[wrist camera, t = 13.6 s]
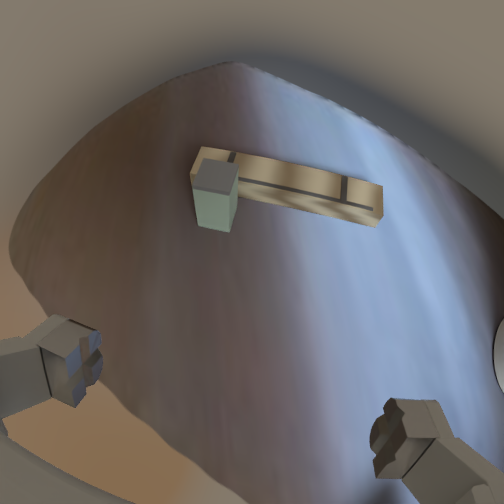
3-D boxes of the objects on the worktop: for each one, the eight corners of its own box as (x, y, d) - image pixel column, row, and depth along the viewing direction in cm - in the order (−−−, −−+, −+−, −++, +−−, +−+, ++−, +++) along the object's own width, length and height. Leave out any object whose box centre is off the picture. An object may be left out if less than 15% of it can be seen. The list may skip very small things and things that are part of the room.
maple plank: (374, 198, 44) (382, 185, 41) (374, 227, 41) (383, 215, 39) (202, 161, 45) (201, 145, 42) (191, 187, 42) (189, 172, 40)
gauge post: (237, 206, 42) (238, 164, 34) (229, 232, 40) (229, 192, 33) (207, 200, 42) (203, 157, 35) (198, 225, 40) (191, 185, 33)
